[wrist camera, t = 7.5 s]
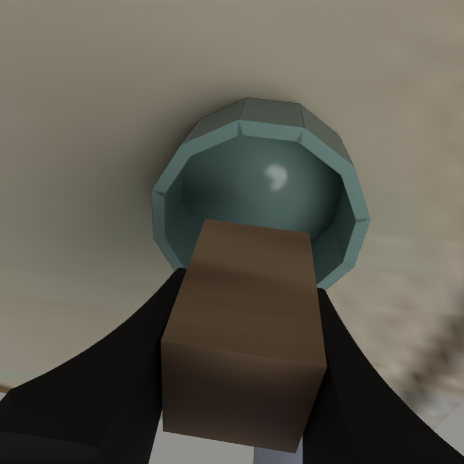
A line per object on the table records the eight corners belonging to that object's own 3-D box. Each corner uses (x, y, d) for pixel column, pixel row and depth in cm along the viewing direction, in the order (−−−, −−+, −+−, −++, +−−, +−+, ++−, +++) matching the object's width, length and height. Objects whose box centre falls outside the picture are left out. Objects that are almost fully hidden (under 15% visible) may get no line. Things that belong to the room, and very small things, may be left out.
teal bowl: (326, 270, 24) (335, 320, 20) (174, 248, 24) (155, 293, 20) (373, 112, 18) (397, 139, 14) (176, 88, 19) (149, 108, 15)
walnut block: (290, 310, 16) (295, 453, 11) (200, 296, 16) (163, 431, 11) (309, 233, 13) (327, 366, 8) (205, 218, 14) (160, 340, 9)
